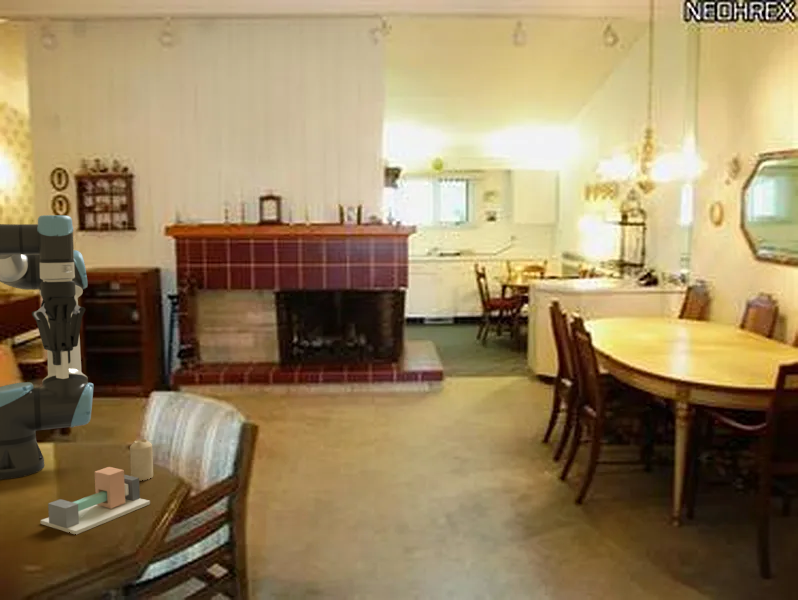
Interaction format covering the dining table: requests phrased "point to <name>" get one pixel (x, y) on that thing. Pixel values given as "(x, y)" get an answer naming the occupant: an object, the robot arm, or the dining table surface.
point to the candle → (141, 459)
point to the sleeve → (111, 486)
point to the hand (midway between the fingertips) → (62, 377)
